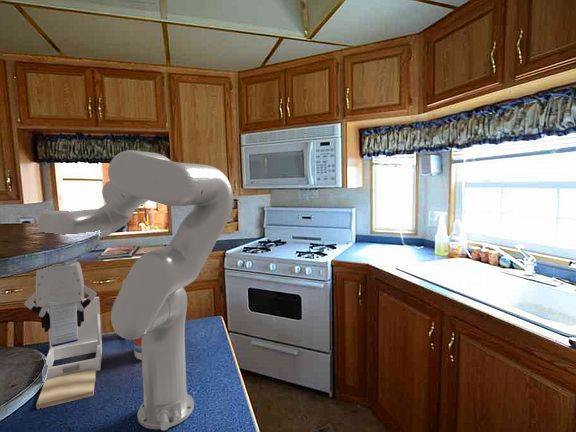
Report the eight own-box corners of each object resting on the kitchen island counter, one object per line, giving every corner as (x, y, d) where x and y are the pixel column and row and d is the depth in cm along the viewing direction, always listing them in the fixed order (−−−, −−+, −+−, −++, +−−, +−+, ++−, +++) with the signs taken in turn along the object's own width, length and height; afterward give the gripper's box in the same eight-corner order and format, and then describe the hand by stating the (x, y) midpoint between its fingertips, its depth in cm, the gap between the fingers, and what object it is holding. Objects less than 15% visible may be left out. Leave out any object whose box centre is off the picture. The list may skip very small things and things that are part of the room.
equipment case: (100, 371, 100) (96, 312, 98) (41, 384, 94) (36, 322, 92) (102, 348, 114) (98, 296, 112) (51, 358, 108) (47, 303, 106)
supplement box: (79, 341, 89) (76, 298, 88) (51, 347, 86) (48, 303, 85) (76, 333, 94) (73, 292, 93) (50, 339, 91) (47, 296, 89)
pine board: (93, 395, 89) (93, 391, 88) (36, 409, 83) (36, 404, 83) (96, 372, 99) (95, 368, 99) (45, 383, 94) (45, 379, 94)
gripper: (12, 266, 81) (18, 340, 83) (97, 258, 88) (101, 326, 90) (20, 259, 87) (26, 328, 89) (98, 253, 95) (102, 316, 97)
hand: (63, 326), depth 90 cm, fingers closed on supplement box, 6 cm apart
